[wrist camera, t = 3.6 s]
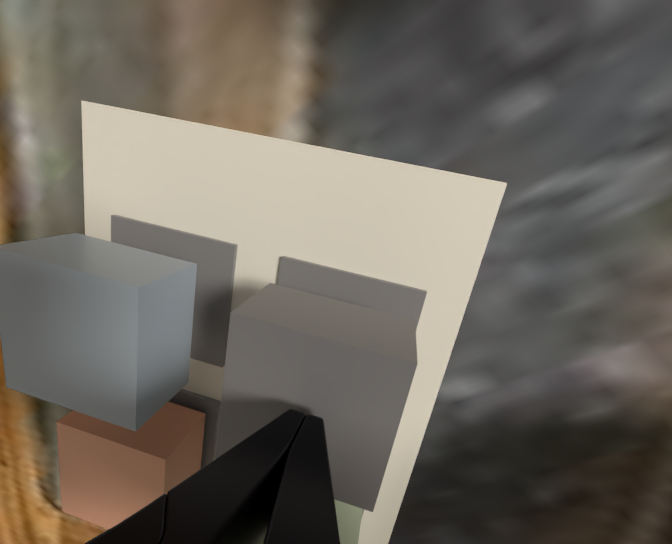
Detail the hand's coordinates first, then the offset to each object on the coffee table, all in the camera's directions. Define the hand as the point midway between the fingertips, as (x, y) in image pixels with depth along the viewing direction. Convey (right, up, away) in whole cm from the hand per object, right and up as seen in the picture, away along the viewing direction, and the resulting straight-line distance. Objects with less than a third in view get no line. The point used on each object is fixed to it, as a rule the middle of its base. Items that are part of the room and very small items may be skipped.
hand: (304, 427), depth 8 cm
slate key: (-6, +2, +4) cm, 8 cm away
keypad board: (-3, -1, +8) cm, 8 cm away
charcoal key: (+1, +1, +3) cm, 3 cm away
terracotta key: (-7, -4, +7) cm, 11 cm away
